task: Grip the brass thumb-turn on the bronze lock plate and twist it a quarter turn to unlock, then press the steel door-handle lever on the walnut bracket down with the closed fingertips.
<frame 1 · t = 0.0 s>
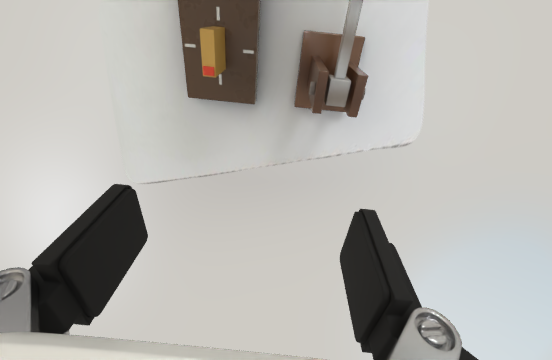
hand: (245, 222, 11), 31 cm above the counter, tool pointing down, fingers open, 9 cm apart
lock plate: (222, 46, 35), on the counter
handle bracket: (326, 73, 36), on the counter
door lever: (347, 38, 25), point 10 cm above the counter, hinge at 0.0°
lock knob: (213, 51, 31), point 5 cm above the counter, hinge at 0.0°
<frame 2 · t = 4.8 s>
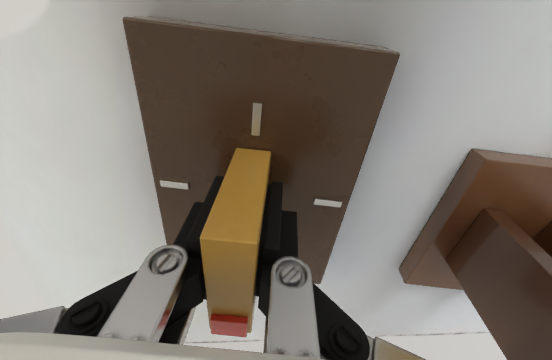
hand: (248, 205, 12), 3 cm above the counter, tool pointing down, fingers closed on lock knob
lock plate: (256, 171, 14), on the counter
handle bracket: (490, 226, 16), on the counter
lock knob: (242, 234, 10), point 5 cm above the counter, hinge at 1.0°, touching gripper
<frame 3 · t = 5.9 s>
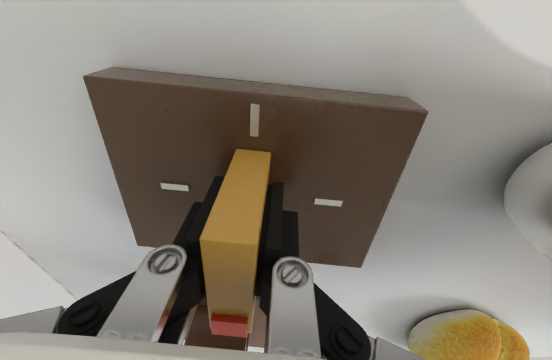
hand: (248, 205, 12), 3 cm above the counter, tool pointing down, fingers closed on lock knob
lock plate: (256, 172, 14), on the counter
handle bracket: (227, 309, 23), on the counter
lock knob: (242, 235, 10), point 5 cm above the counter, hinge at 89.9°, touching gripper
bread roll: (455, 329, 23), on the counter
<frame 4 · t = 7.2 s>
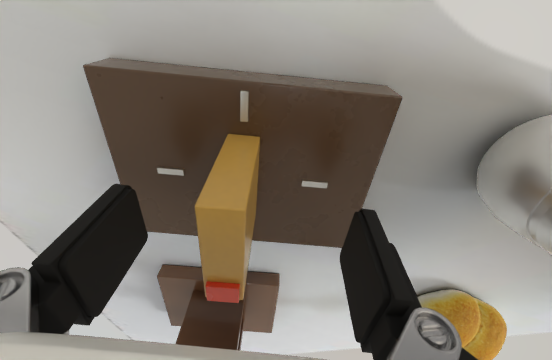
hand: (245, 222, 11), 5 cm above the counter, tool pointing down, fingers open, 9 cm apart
plastic bottle: (520, 152, 15), on the counter
lock plate: (247, 158, 15), on the counter
handle bracket: (222, 295, 24), on the counter
lock knob: (234, 212, 11), point 5 cm above the counter, hinge at 89.9°
bread roll: (439, 310, 24), on the counter
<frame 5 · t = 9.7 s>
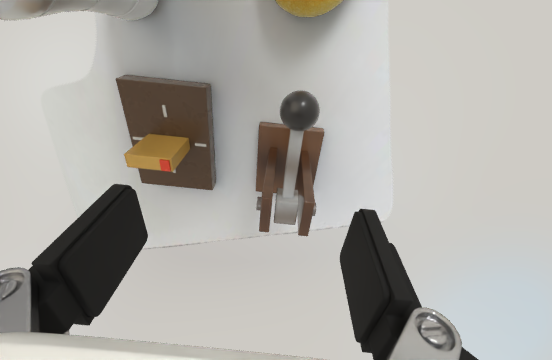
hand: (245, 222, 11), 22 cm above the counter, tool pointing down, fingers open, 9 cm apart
lock plate: (176, 135, 33), on the counter
handle bracket: (287, 159, 34), on the counter
door lever: (292, 163, 23), point 10 cm above the counter, hinge at 0.0°
lock knob: (159, 151, 29), point 5 cm above the counter, hinge at 89.9°
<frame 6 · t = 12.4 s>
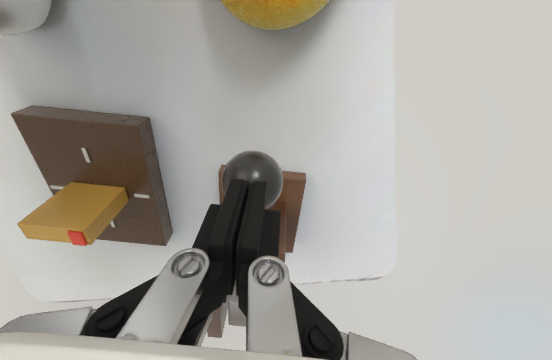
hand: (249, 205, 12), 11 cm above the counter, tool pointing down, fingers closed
lock plate: (113, 179, 25), on the counter
handle bracket: (260, 209, 26), on the counter
door lever: (249, 248, 16), point 10 cm above the counter, hinge at -3.8°
lock knob: (79, 211, 21), point 5 cm above the counter, hinge at 89.9°
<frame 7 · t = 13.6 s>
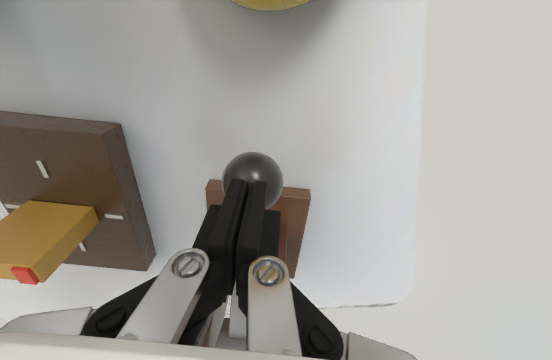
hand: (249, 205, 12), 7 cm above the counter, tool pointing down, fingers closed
lock plate: (83, 195, 21), on the counter
handle bracket: (256, 229, 23), on the counter
door lever: (244, 270, 14), point 8 cm above the counter, hinge at -27.4°, touching gripper
lock knob: (34, 238, 17), point 5 cm above the counter, hinge at 89.9°
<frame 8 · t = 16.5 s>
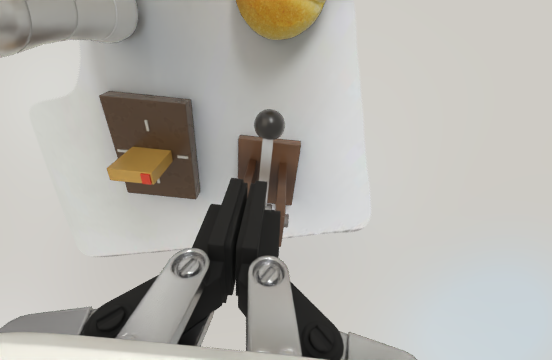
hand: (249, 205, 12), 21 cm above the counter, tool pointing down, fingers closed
plastic bottle: (114, 3, 26), on the counter
lock plate: (159, 146, 34), on the counter
handle bracket: (267, 170, 36), on the counter
door lever: (265, 171, 27), point 8 cm above the counter, hinge at -27.6°
lock knob: (142, 164, 30), point 5 cm above the counter, hinge at 89.9°
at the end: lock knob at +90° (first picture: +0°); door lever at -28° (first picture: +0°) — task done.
